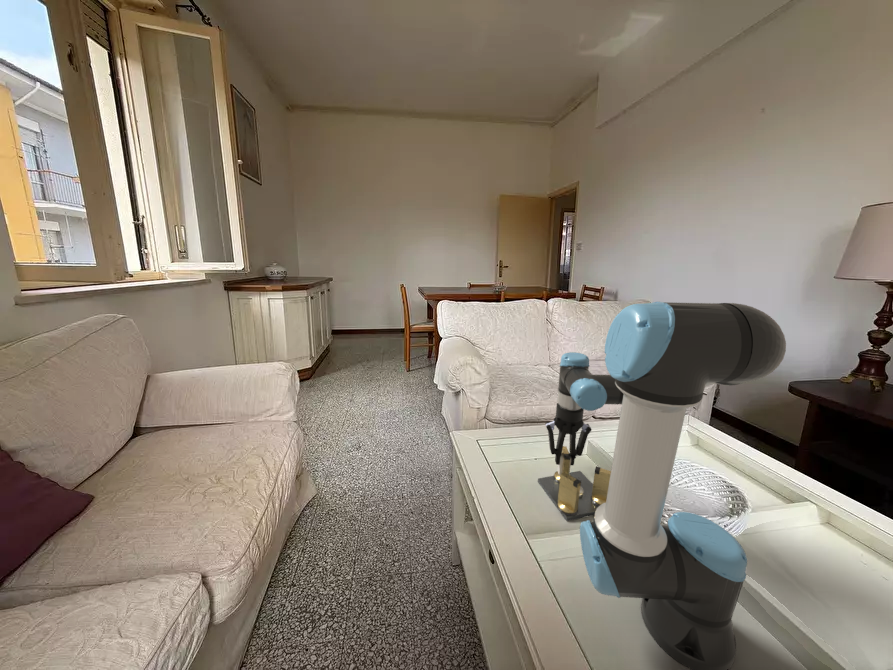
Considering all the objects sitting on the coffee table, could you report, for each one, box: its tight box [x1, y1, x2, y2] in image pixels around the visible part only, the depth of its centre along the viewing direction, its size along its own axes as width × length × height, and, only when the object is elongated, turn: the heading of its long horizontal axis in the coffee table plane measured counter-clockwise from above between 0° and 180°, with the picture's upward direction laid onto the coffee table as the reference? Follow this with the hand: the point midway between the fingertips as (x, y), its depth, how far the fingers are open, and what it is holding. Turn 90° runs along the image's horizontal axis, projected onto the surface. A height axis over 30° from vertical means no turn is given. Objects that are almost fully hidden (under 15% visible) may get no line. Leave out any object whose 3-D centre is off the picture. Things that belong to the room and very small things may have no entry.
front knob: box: [558, 472, 581, 514], centre depth 94 cm, size 5×5×10 cm
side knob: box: [592, 466, 611, 505], centre depth 96 cm, size 5×5×10 cm
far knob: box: [553, 445, 571, 482], centre depth 105 cm, size 5×5×10 cm
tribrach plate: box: [537, 470, 600, 522], centre depth 102 cm, size 17×17×2 cm
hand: (563, 472), depth 106 cm, fingers closed on far knob, 2 cm apart
